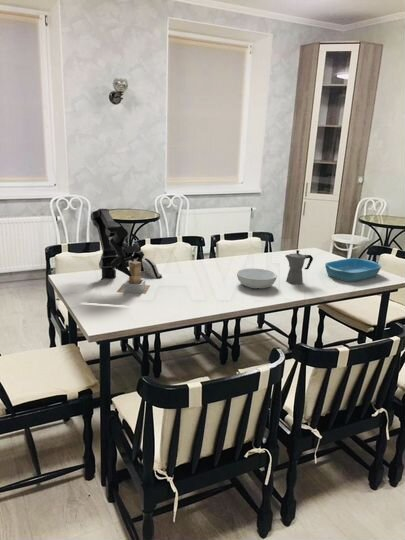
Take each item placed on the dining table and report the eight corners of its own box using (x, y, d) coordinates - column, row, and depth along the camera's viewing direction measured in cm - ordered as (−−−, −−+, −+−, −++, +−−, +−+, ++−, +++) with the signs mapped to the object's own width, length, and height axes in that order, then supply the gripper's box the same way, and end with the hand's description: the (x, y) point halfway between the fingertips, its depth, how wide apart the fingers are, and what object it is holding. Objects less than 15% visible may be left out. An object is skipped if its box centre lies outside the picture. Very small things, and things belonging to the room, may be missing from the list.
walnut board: (116, 293, 212) (116, 291, 212) (123, 285, 225) (123, 283, 225) (145, 295, 212) (145, 293, 212) (150, 287, 224) (150, 285, 224)
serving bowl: (252, 277, 249) (253, 265, 247) (283, 287, 235) (284, 274, 233) (228, 284, 235) (228, 272, 233) (258, 295, 221) (260, 282, 219)
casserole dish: (348, 285, 244) (350, 273, 242) (316, 275, 261) (318, 263, 259) (386, 276, 265) (388, 265, 263) (354, 267, 282) (356, 256, 280)
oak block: (129, 288, 215) (129, 262, 211) (135, 286, 218) (135, 260, 215) (134, 290, 213) (134, 264, 209) (140, 287, 217) (141, 262, 213)
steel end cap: (124, 292, 212) (124, 283, 211) (128, 286, 220) (128, 278, 219) (141, 293, 212) (141, 284, 210) (145, 288, 220) (145, 279, 218)
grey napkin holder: (162, 277, 241) (157, 261, 237) (154, 281, 239) (149, 265, 235) (151, 269, 255) (146, 254, 251) (144, 272, 254) (139, 257, 249)
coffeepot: (284, 283, 240) (287, 251, 235) (280, 278, 249) (284, 247, 244) (312, 284, 241) (316, 252, 236) (307, 279, 250) (311, 248, 245)
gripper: (115, 241, 203) (133, 268, 201) (141, 235, 218) (158, 260, 216) (103, 254, 209) (120, 281, 207) (129, 248, 225) (146, 273, 222)
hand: (137, 273), depth 213 cm, fingers open, 9 cm apart
